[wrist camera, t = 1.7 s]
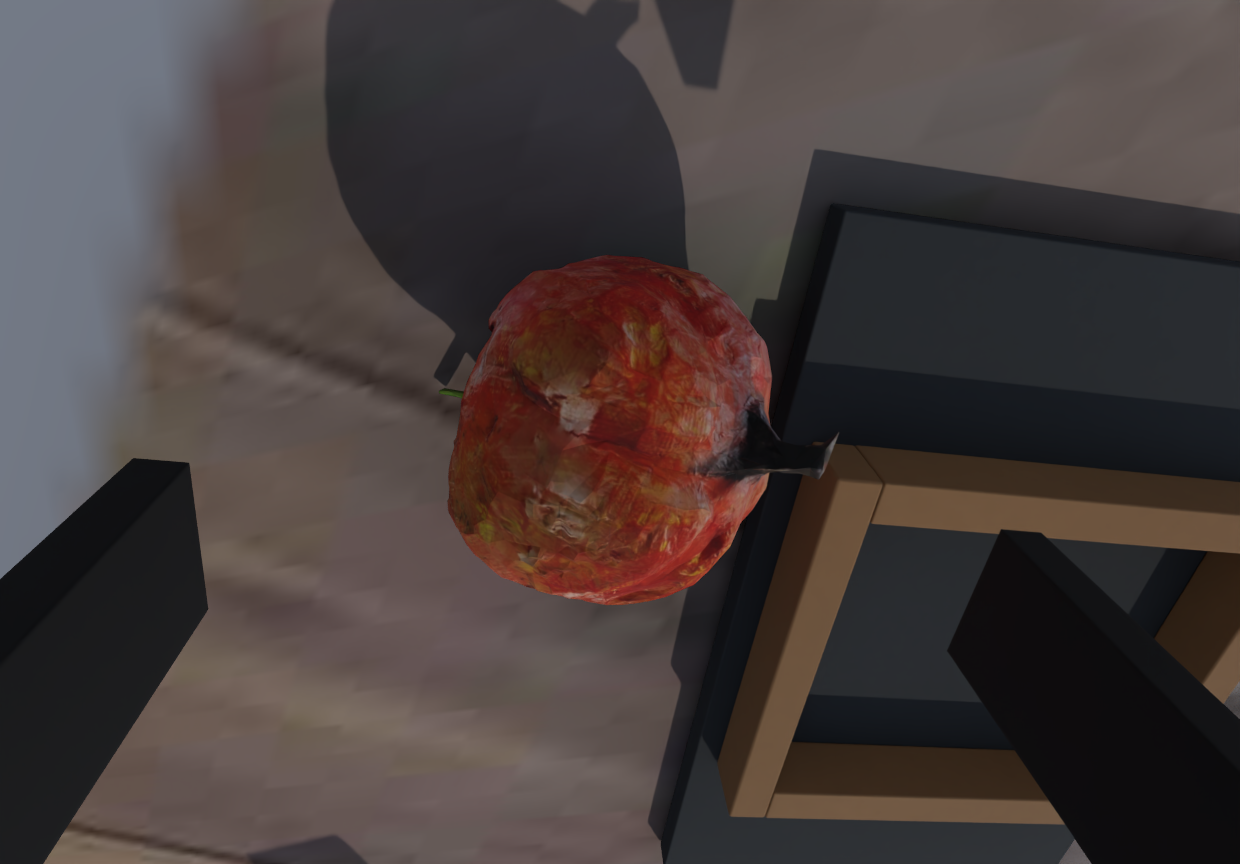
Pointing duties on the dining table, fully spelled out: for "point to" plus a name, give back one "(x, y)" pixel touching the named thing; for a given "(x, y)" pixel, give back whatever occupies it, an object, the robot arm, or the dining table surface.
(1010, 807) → the back pad
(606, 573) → the red round lump
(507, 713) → the dining table surface
